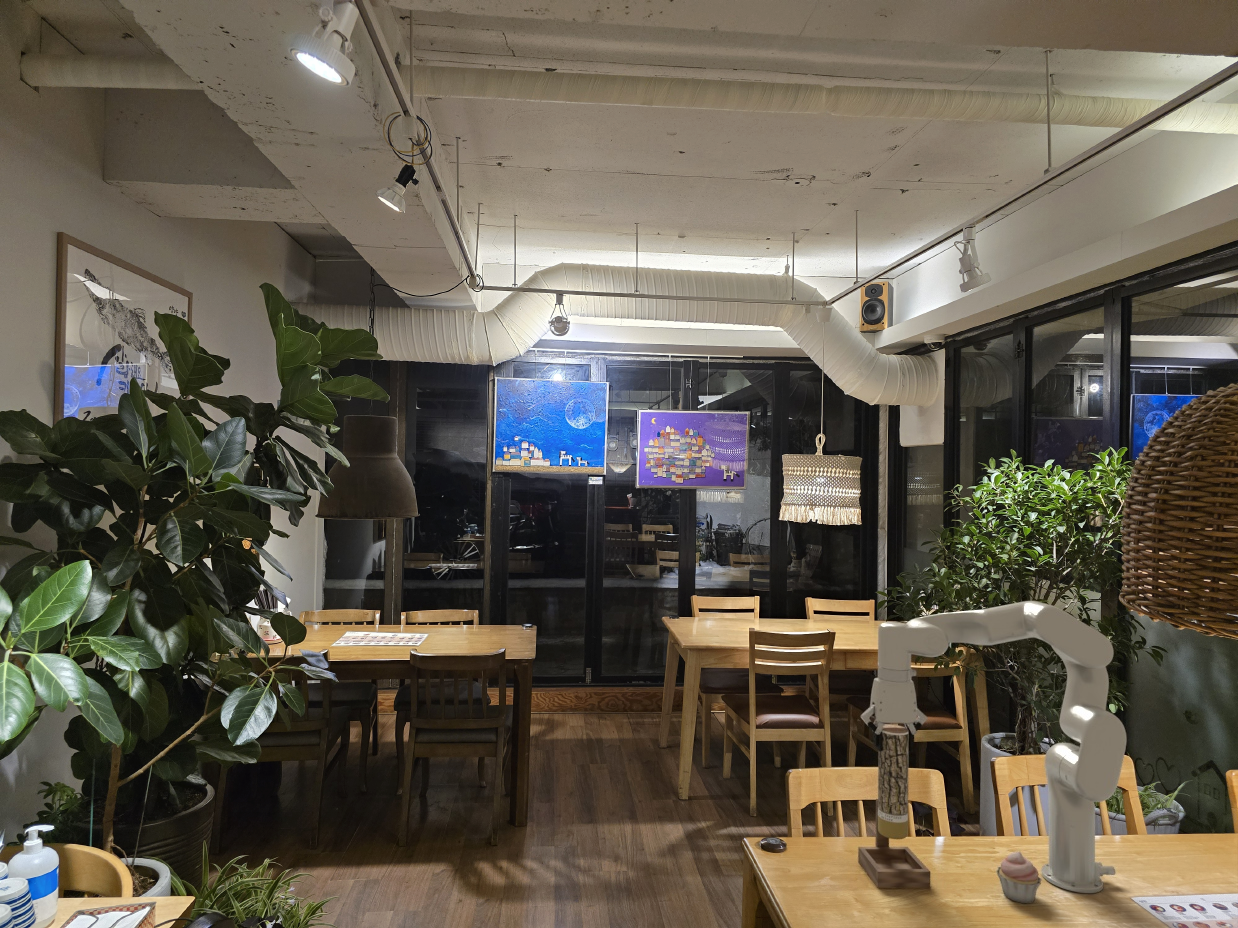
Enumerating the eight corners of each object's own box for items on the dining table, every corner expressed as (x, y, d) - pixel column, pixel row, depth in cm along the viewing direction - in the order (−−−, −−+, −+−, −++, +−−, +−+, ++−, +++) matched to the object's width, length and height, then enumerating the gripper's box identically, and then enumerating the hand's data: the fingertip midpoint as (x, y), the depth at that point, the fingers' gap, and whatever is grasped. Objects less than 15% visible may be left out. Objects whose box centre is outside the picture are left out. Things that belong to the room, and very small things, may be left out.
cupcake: (1052, 905, 169) (1052, 860, 170) (1014, 908, 168) (1014, 862, 168) (1023, 884, 179) (1023, 841, 179) (987, 886, 177) (987, 843, 178)
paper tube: (910, 841, 178) (910, 733, 179) (879, 838, 180) (880, 731, 181) (905, 829, 185) (906, 725, 186) (876, 826, 186) (876, 723, 187)
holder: (905, 859, 190) (906, 798, 190) (930, 887, 176) (930, 821, 177) (856, 859, 189) (857, 798, 190) (877, 887, 176) (878, 821, 176)
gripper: (922, 671, 188) (921, 744, 187) (853, 670, 187) (852, 744, 187) (936, 678, 181) (936, 755, 180) (864, 677, 180) (863, 754, 179)
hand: (893, 748), depth 183 cm, fingers closed on paper tube, 6 cm apart
